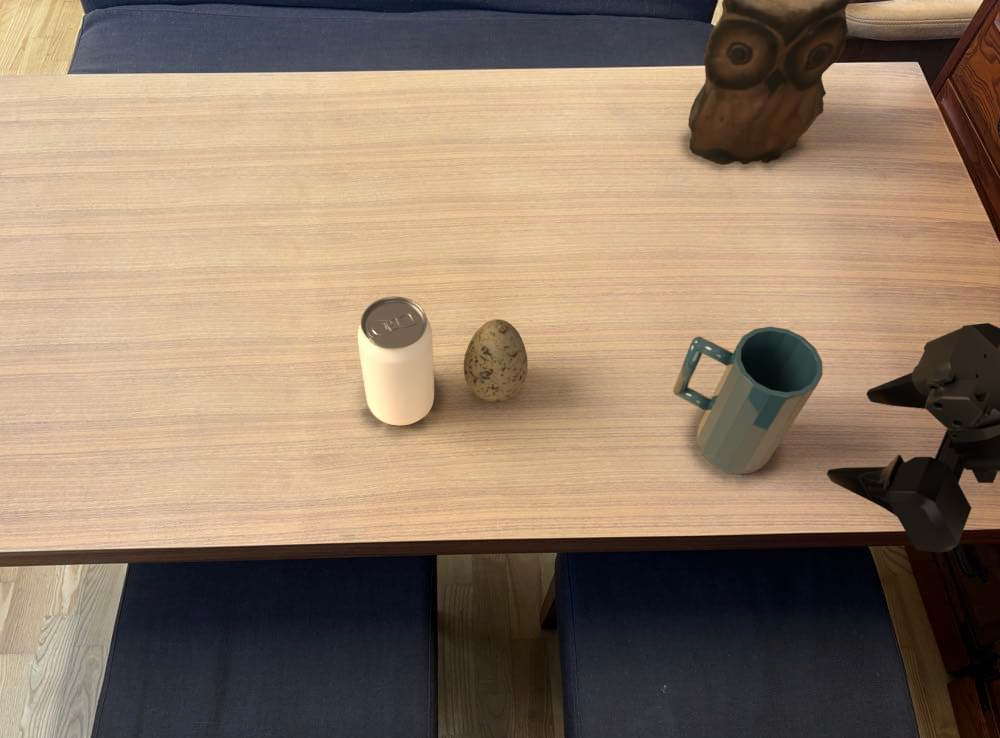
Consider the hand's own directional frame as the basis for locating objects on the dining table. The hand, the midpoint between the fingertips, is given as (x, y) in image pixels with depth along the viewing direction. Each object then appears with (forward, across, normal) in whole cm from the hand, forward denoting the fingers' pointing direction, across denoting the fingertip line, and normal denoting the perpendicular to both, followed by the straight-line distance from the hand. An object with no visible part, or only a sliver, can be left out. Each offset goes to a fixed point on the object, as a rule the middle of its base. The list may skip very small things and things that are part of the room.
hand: (849, 434), depth 70 cm
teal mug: (+13, 0, -1) cm, 13 cm away
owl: (+24, -41, -11) cm, 49 cm away
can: (+32, +14, -19) cm, 40 cm away
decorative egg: (+27, +8, -15) cm, 32 cm away
